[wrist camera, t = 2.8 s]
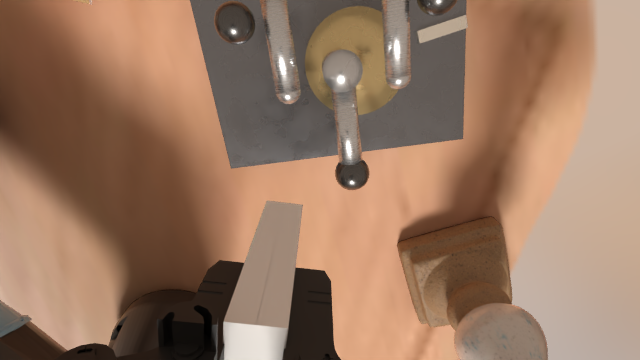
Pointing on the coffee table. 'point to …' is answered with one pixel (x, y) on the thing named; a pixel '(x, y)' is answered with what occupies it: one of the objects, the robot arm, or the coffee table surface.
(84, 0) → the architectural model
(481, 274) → the candle holder
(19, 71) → the coffee table surface
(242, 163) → the stand
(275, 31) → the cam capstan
